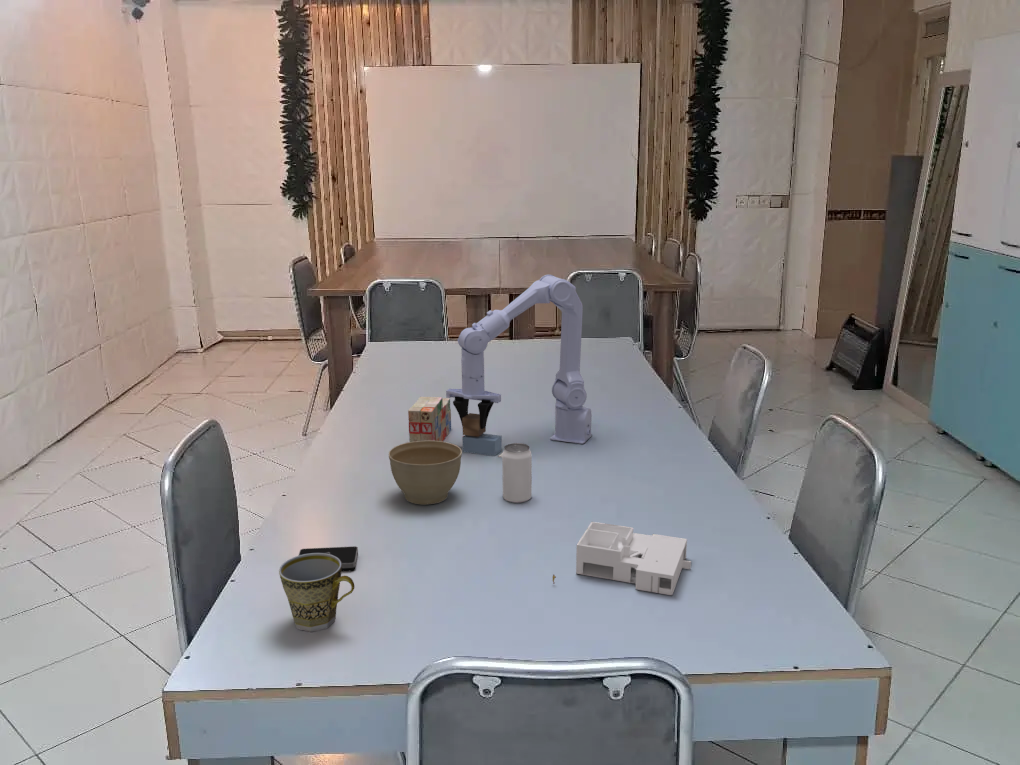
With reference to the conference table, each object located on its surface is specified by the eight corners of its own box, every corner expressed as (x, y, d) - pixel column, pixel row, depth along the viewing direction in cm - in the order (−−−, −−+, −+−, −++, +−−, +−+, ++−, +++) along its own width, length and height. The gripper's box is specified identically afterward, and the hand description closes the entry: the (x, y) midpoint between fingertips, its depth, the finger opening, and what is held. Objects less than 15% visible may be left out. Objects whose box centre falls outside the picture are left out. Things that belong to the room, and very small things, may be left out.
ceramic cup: (271, 630, 138) (266, 575, 135) (306, 601, 147) (302, 548, 144) (340, 646, 134) (336, 589, 131) (372, 615, 143) (369, 561, 140)
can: (510, 505, 186) (510, 454, 182) (497, 495, 191) (497, 445, 188) (536, 500, 189) (536, 449, 185) (522, 490, 194) (522, 440, 191)
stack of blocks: (429, 429, 237) (428, 386, 234) (451, 430, 236) (450, 387, 233) (409, 455, 217) (407, 409, 213) (433, 456, 216) (431, 410, 213)
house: (552, 585, 152) (552, 554, 150) (580, 541, 169) (580, 513, 167) (677, 607, 145) (679, 575, 143) (694, 559, 161) (695, 530, 160)
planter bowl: (466, 509, 184) (465, 462, 181) (391, 514, 182) (389, 466, 179) (458, 481, 199) (457, 437, 197) (389, 486, 197) (387, 441, 194)
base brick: (501, 450, 220) (501, 434, 219) (494, 456, 216) (494, 440, 214) (470, 446, 223) (469, 430, 222) (462, 451, 219) (462, 435, 218)
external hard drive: (355, 572, 158) (354, 563, 157) (294, 575, 157) (294, 565, 156) (358, 555, 164) (358, 546, 164) (300, 558, 163) (299, 548, 163)
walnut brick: (485, 431, 220) (485, 414, 219) (478, 436, 216) (478, 420, 215) (470, 429, 222) (469, 413, 221) (462, 434, 218) (462, 418, 217)
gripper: (440, 376, 214) (441, 427, 217) (493, 382, 209) (493, 434, 212) (452, 370, 220) (453, 419, 224) (504, 375, 215) (504, 426, 218)
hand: (473, 426), depth 218 cm, fingers closed on walnut brick, 4 cm apart
